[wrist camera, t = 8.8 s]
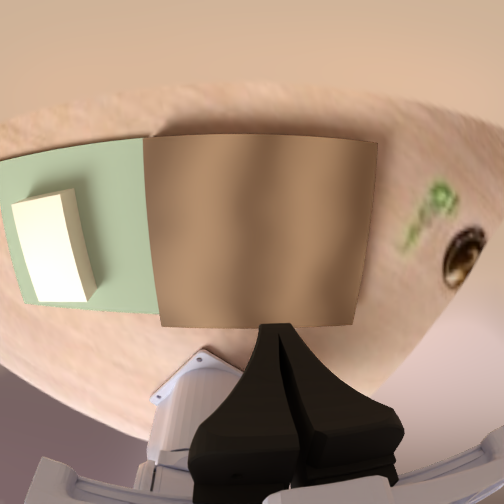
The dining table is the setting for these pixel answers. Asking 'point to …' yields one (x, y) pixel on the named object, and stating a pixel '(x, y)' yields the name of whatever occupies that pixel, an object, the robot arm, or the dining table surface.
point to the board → (258, 228)
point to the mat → (91, 219)
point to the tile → (54, 247)
